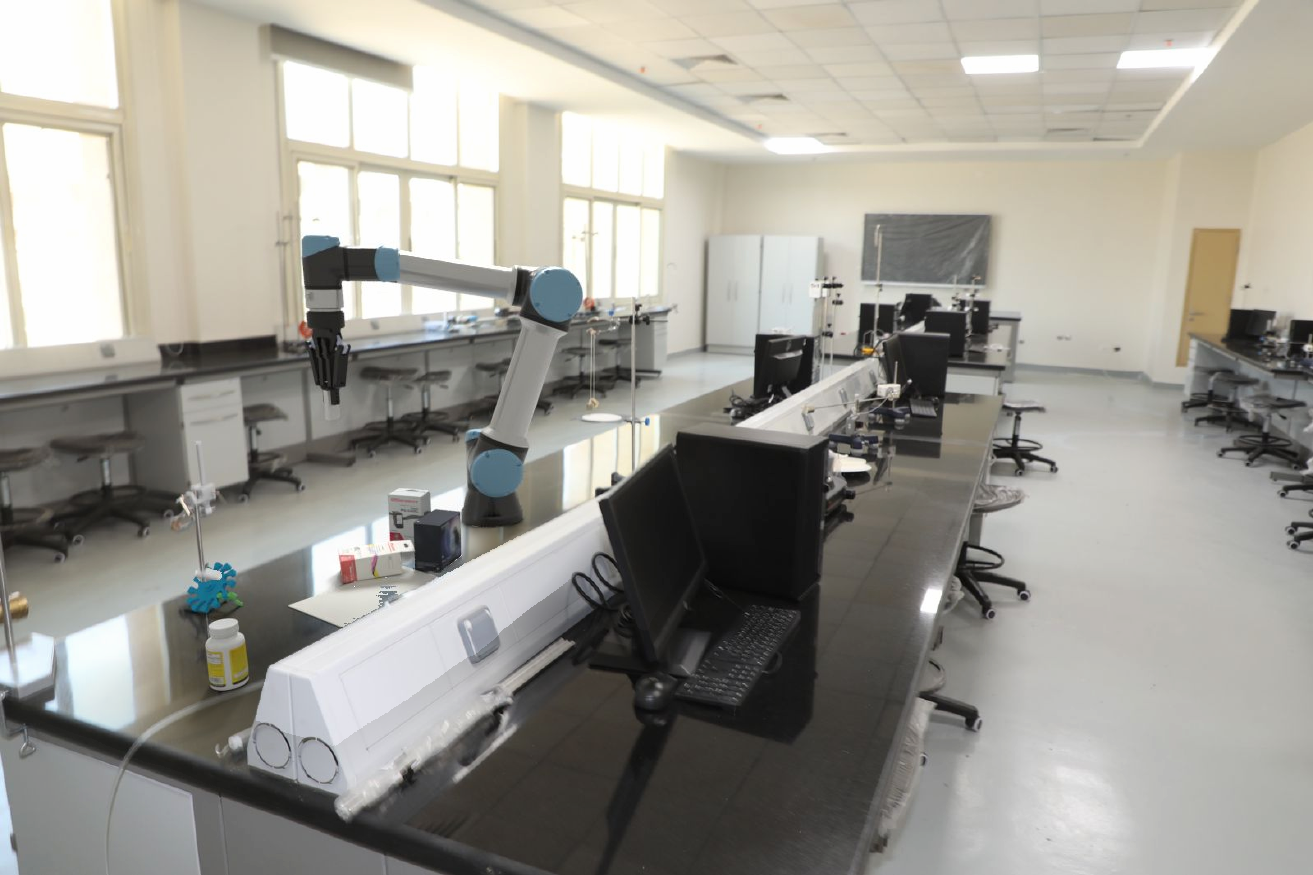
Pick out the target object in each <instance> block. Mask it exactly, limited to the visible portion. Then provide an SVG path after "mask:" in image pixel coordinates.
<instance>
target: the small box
mask: <svg viewBox="0 0 1313 875" xmlns="http://www.w3.org/2000/svg"><path fill="white" fill-rule="evenodd" d="M461 523H462V521H461V511H458V510H446V509H439V508H435V509H433V510H431V512H430V513H428V514H427V515H425V516H423V517H422V518H420V519H419V520H417V521H415V522H414V523H413V527H414V528H413V529H414V545H413V546H414V549H415V551H413V552H414V570H417V571H425V572H426V571H427V572H428V571H429V572H434V573H435V572H437V573H441V572H443V571H444V570H445V569H447V568H448V567H450V566H451V565H452V564H453V563H454V562H456V561H457V560H459V559H460V558H461V557H462V556H461V555H462V554H463V553H462V524H461ZM460 556H461V557H460ZM459 557H460V558H459ZM456 559H457V560H456ZM455 560H456V561H455ZM451 563H452V564H451ZM450 564H451V565H450Z"/></svg>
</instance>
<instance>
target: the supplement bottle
mask: <svg viewBox="0 0 1313 875" xmlns="http://www.w3.org/2000/svg"><path fill="white" fill-rule="evenodd" d="M239 628H240V626H239V621H238V620H237V619H236V618H232V617H231V618H228V617H227V618H221V619H217V620H215V621H213V622H211V623H210V624H208V633H209V636H210V637H209V638H208V639H207V640H206V642H205V655H206V664H207V671H208V681H209V685H210V688H211V689H212V690H215V691H218V692H219V691H225V692H226V691H230V690H234V689H237V688H241V687H242V686H243V685H245V684H246V683H247V682H248V681H249V679H250V676H249V675H250V674H249V663H248V654H247V646H246V639H245V638H246V637H245V636H244V634H243V633H242V632H239Z"/></svg>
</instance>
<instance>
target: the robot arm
mask: <svg viewBox="0 0 1313 875" xmlns="http://www.w3.org/2000/svg"><path fill="white" fill-rule="evenodd" d="M301 263H302V264H301V265H302V275H303V286H304V287H303V288H304V298H305V307H306V308H307V309H309V310H307V311H306V312H305V316H306V327H307V328H308V329H310V330H312V331H311V332H312V333H311V339H310V340H307V341H305V342H304V346H305V348H306V350H307V352H308V357H309V362H310V366H311V372H312V377H313V379H314V385H315V386H319V387H320V389H321V390H322V401H323V406H324V408H323V409H324V420H325V421H334V420H339V419H341V410H340V409H341V408H340V403H341V400H340V390H341V389H342V388H346V386H347V378H348V377H347V374H348V364H349V354H350V352H351V349H352V346H351V344H350V343H345V341H343V334H342V329H344V328H345V326H346V320H345V319H346V318H345V312H344V310H342V309H343V308H344V307H345V305H344V304H345V301H344V300H345V299H344V291H343V290H344V289H343V282H382V283H392V284H394V283H395V284H398V285H399V284H401V285H406V286H407V285H408V286H413V287H420V288H425V289H432V290H438V291H445V292H451V293H457V294H463V295H469V296H475V297H483V298H489V299H494V300H495V299H496V300H501V301H502V300H503V301H505V302H506V303H507V304H508V305H509V306H510V307H511V306H513V307H517V308H518V307H519V308H520V311H519V314H518V318H519V320H520V322H521V324H522V326H521V330H520V333H519V335H518V338H517V342H516V345H515V348H514V350H513V351H514V352H513V354H512V357H511V361H510V363H509V367H508V369H507V372H506V375H505V378H504V381H503V384H502V386H501V387H502V388H501V390H500V393H499V396H498V399H497V403H496V405H495V409H494V410H493V415H492V418H491V421H490V423H489V425H488V426H486V427H483V428H473V429H469V430H467V431H466V433H465V440H464V444H465V456H466V458H465V459H466V460H465V461H466V482H467V485H466V487H467V489H466V494H465V498H464V502H463V507H462V508H461V511H460V514H461V523H462V524H464V525H467V526H469V527H474V528H500V527H506V526H510V525H513V524H517V523H519V522H521V521H522V520H523V518H524V514H523V507H522V504H520V499H519V496H518V492H517V490H518V488H519V486H520V485H521V484H522V481H523V478H524V473H525V471H524V470H525V469H524V464H525V461H526V458H527V455H528V452H529V449H530V447H531V446H530V443H529V441H528V438H527V434H528V431H529V428H530V426H531V422H532V419H533V416H534V413H535V410H536V407H537V405H538V401H539V398H540V395H541V392H542V390H543V387H544V383H545V380H546V377H547V374H548V371H549V370H550V369H549V367H550V365H551V362H552V360H553V356H554V353H555V351H556V347H557V344H558V342H559V339H560V338H561V337H563V336H566V335H568V332H569V329H570V327H571V324H572V321H573V318H574V317H575V315H577V313H578V311H579V310H580V308H581V307H582V304H583V299H584V292H583V288H582V284H581V282H580V281H579V279H578V278H577V277H576V275H575V274H574V273H573V272H571V271H570V270H569V269H566V268H564V267H561V266H557V265H552V266H550V265H549V266H548V265H547V266H546V265H545V266H524V265H518V264H514V265H513V266H511V267H503V266H497V265H492V264H485V263H479V262H473V261H466V260H460V259H456V258H449V257H442V256H439V255H438V256H437V255H430V254H425V253H420V252H419V253H418V252H412V251H406V250H399V248H398V247H397V246H394V245H384V244H383V245H382V244H380V245H373V244H372V245H370V244H369V245H367V244H365V245H363V244H362V245H360V244H359V245H346V244H341V241H340V237H339V236H337V235H333V234H332V235H328V234H327V235H324V234H320V235H319V234H307V235H304V236H303V237H302V238H301ZM522 517H523V518H522ZM521 519H522V520H521ZM516 522H517V523H516Z"/></svg>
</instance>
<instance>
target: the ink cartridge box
mask: <svg viewBox="0 0 1313 875" xmlns="http://www.w3.org/2000/svg"><path fill="white" fill-rule="evenodd" d="M405 545H406V546H407V547H406V546H405ZM337 551H338V560H339V565H340V566H339V568H340V570H339V571H340V575H341V583H342V584H348V583H352V582H355V581H360V580H365V579H371V578H377V577H383V576H389V575H396V574H402V566H403V565H402V556H401V553H410V552H411V553H412V552H414V551H415V549H414V545H413V544H412V542H411V540H402V541H390V540H389V541H385V542H384V541H383V542H377V543H372V544H371V543H370V544H365V545H364V544H363V545H358V546H357V545H356V546H351V547H343V548H338V549H337ZM401 565H402V566H401Z"/></svg>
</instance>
